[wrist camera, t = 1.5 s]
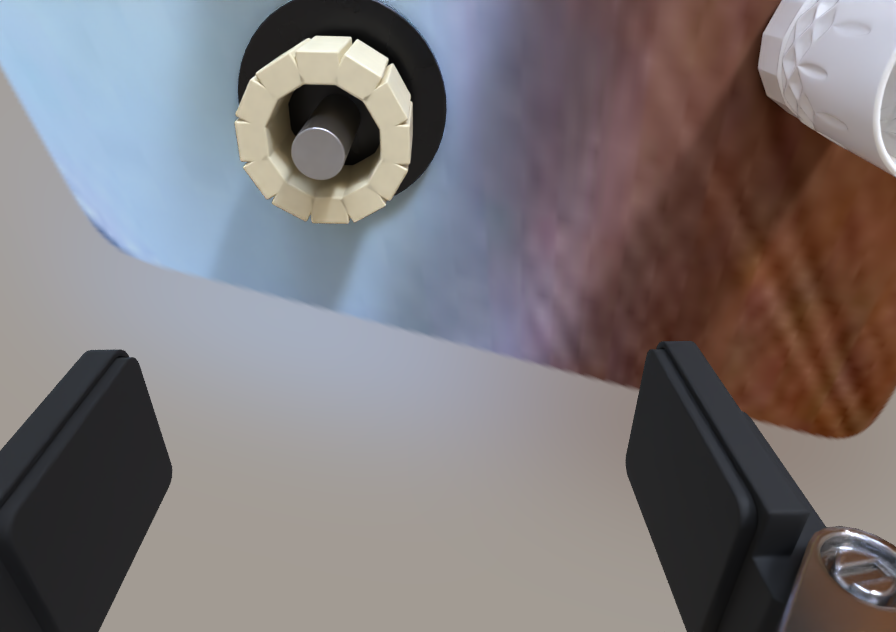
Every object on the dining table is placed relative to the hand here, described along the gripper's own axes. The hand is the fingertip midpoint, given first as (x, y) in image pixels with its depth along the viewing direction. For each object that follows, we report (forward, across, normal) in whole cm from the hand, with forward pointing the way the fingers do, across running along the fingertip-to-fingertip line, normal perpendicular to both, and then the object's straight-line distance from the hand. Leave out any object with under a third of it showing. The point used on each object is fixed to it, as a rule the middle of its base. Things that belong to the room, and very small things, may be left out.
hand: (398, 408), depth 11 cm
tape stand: (+22, +4, -1) cm, 23 cm away
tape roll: (+20, +4, -1) cm, 20 cm away
